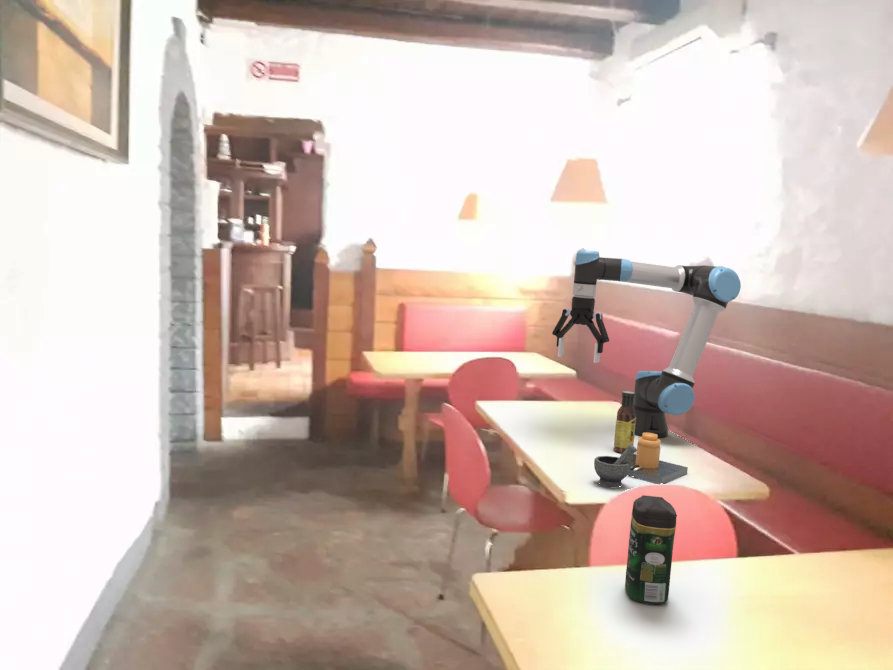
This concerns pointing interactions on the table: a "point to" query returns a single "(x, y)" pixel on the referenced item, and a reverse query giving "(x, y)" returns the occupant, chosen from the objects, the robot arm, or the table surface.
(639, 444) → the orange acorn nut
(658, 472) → the junction plate
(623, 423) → the sauce bottle
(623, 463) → the mortar and pestle
